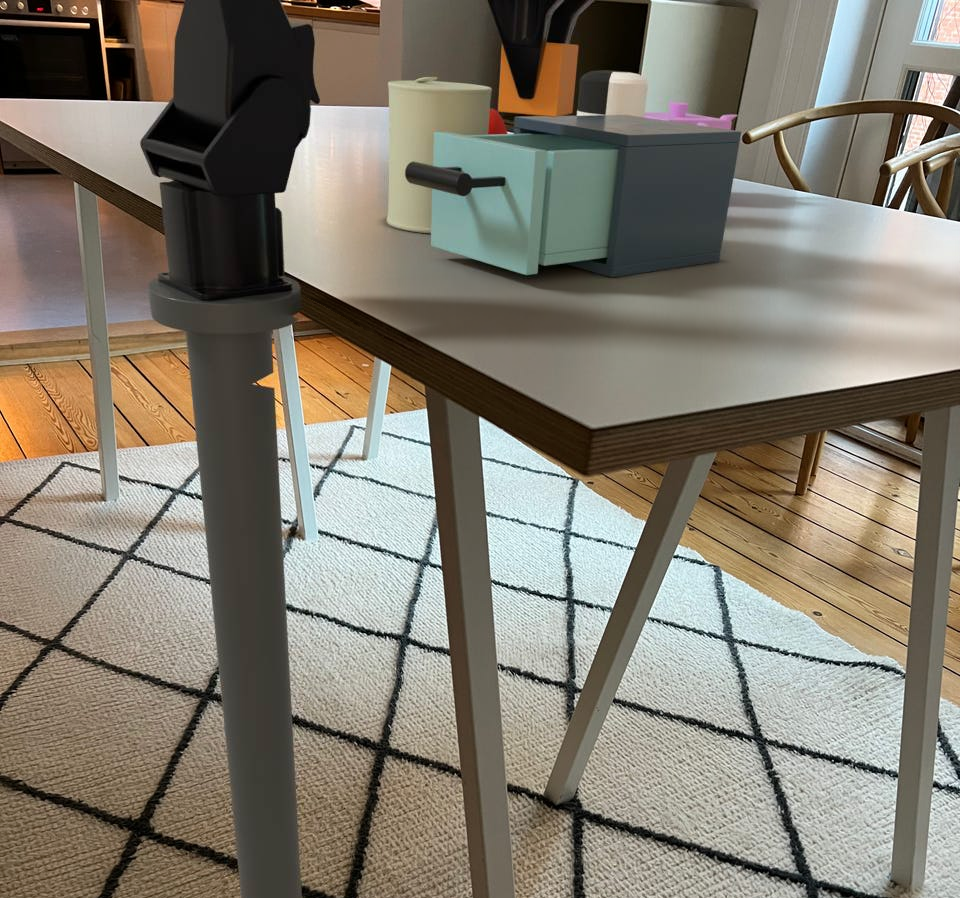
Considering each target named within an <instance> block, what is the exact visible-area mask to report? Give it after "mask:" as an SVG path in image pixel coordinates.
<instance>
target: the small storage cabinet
mask: <svg viewBox="0 0 960 898" xmlns="http://www.w3.org/2000/svg"><path fill="white" fill-rule="evenodd" d="M529 133H549V134H555V135H561V136H566V137H572V138H578V139H584V140H590V141H595V142H601V143H607V144H613V145H619V146H620V150H619V159H618V167H617V176H616V185H615V193H614V202H613V210H612V219H611V227H610V236H609V245H608V253H607V258H599V259H592V260H584V261H577V262H569V263H562V264H564V265H567V266H571V267H574V268H578V269H581V270H585V271H588V272H592V273H595V274H599V275H603V276H605V277H609V278H616V277H618V278H619V277H625V276H631V275H637V274H638V275H639V274H643V273H651V272H657V271H663V270H669V269H677V268H684V267H690V266H696V265H703V264H710V263H718V262H720V258H721V252H722V247H723V241H724V236H725V229H726V223H727V218H728V212H729V207H730V201H731V195H732V189H733V188H732V187H733V184H734V178H735V171H736V166H737V160H738V155H739V150H740V149H739V148H740V141H741V137H742V131H740V130H734V129H733V130H732V129H731V130H727V129H720V128H713V127H707V126H700V125H693V124H686V123H679V122H672V121H665V120H658V119H652V118H645V117H638V116H631V115H591V116H577V115H562V116H558V117H550V116H539V115H527V116H514V122H513V134H529Z"/></svg>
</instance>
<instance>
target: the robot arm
mask: <svg viewBox="0 0 960 898" xmlns="http://www.w3.org/2000/svg"><path fill="white" fill-rule="evenodd" d="M595 1H596V0H486V2H487V4H488V7H489V9H490V12H491V16H492V18H493V21H494V23H495V26H496V29H497V32H498V36H499V38H500V42H501V46H502V45H503V48H504V51H505V54H506V57H507V61H508V64H509V67H510V70H511V74H512V77H513V80H514V83H515V86H516V90H517V93H518V96H519V97H520V98H522V99H533V98H534V97H535V93H536V89H537V85H538V80H539V76H540V71H541V66H542V61H543V56H544V51H545V46H546V43H559V44H570V41H571V37H572V34H573V31H574V29H575V26H576V24H577V20H578V18H579V16H580V15H581V14H582V13H583V12H584V11H585V10H586V9H588V7H589V6H591V4H592V3H594V2H595ZM175 32H176V33H175V37H174V49H173V50H174V53H173V54H174V56H173V85H172V86H173V88H172V92H173V93H172V95H173V96H172V97H171V99H170V101H169V102H168V103H167V104H166V105H165V107H164V109H163V110H162V111H161V113H160V114H159V115H158V116H157V118H156V119H155V120H154V121H153V123H152V124H151V126H150V127H149V128H148V130H147V131H146V132H145V133H144V135H143V136H142V137H141V139H140V143H139V145H140V149H141V151H142V153H143V156H144V158H145V160H146V163H147V165H148V167H149V169H150V172H151V175H153V176H154V177H158V178H165V179H167V180H168V179H169V180H171V181H162V182H159V192H160V200H161V201H160V202H161V211H162V222H163V229H164V230H163V231H164V240H165V249H166V250H165V251H166V258H167V259H166V260H167V269H168V270H167V271H163V272H158V273H157V278H158V281H160V282H162V283H164V284H166V285H168V286H170V287H172V288H175V289H177V290H179V291H181V292H183V293H185V294H187V295H190V296H192V297H194V298H196V299H198V300H201V301H215V300H223V299H231V298H239V297H247V296H254V295H262V294H270V293H278V292H286V291H291V290H292V283H291V282H289V281H287V280H284V279H282V278H279V277H282V276H284V274H285V253H284V252H285V251H284V232H283V231H284V230H283V212H282V211H281V209H280V208H279V207H276V194H283V193H285V192H286V190H287V186H288V183H289V178H290V175H291V170H292V166H293V162H294V159H295V155H296V151H297V148H298V146H300V144H301V142H302V141H303V140H304V139H305V138H307V137H308V132H309V130H310V126H311V115H312V106H311V104H314V105H319V104H320V102H321V99H320V95H319V93H318V90H317V87H316V83H315V82H316V81H315V75H314V58H315V46H316V40H315V35H314V28H313V26H312V25H311V24H310V23H303V22H302V23H300V22H291V21H290V20H289V17H288V15H287V13H286V11H285V8H284V6H283V3H282V1H281V0H184V2H183V7H182V9H181V15H180V18H179V22H178V25H177V29H176V31H175Z"/></svg>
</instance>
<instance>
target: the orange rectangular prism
mask: <svg viewBox="0 0 960 898" xmlns="http://www.w3.org/2000/svg"><path fill="white" fill-rule="evenodd" d="M500 55H501V56H500V72H499V73H500V74H499V86H498V87H499V88H498V89H499V90H498V107H497V112H498V113H506V114H517V115H519V114H520V115H527V116H550V117H558V116H568V115H570V114H573V112H574V111H573V110H574V99H575V89H576V79H577V67H578V58H579V57H578V55H579V44H573V43H571V44H570V43H569V44H559V43H546V46H545V51H544V56H543V61H542V66H541V71H540V76H539V80H538V85H537V89H536V93H535V97H534V98H533V99H522V98H520V97H519V96H518V93H517V90H516V86H515V83H514V80H513V77H512V74H511V70H510V67H509V64H508V61H507V57H506V54H505V51H504V48H503V45H502V44H501V54H500Z"/></svg>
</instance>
